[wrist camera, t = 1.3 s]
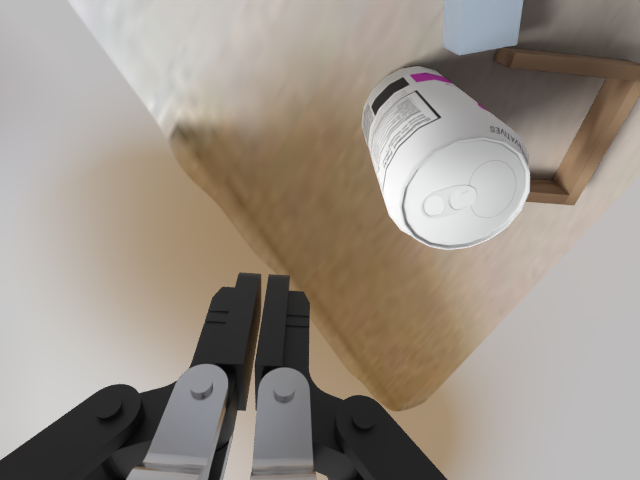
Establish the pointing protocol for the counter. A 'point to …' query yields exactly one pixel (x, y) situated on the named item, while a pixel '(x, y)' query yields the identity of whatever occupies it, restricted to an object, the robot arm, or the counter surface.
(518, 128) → the counter surface
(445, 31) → the slate-blue block
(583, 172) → the frame
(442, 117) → the supplement can
